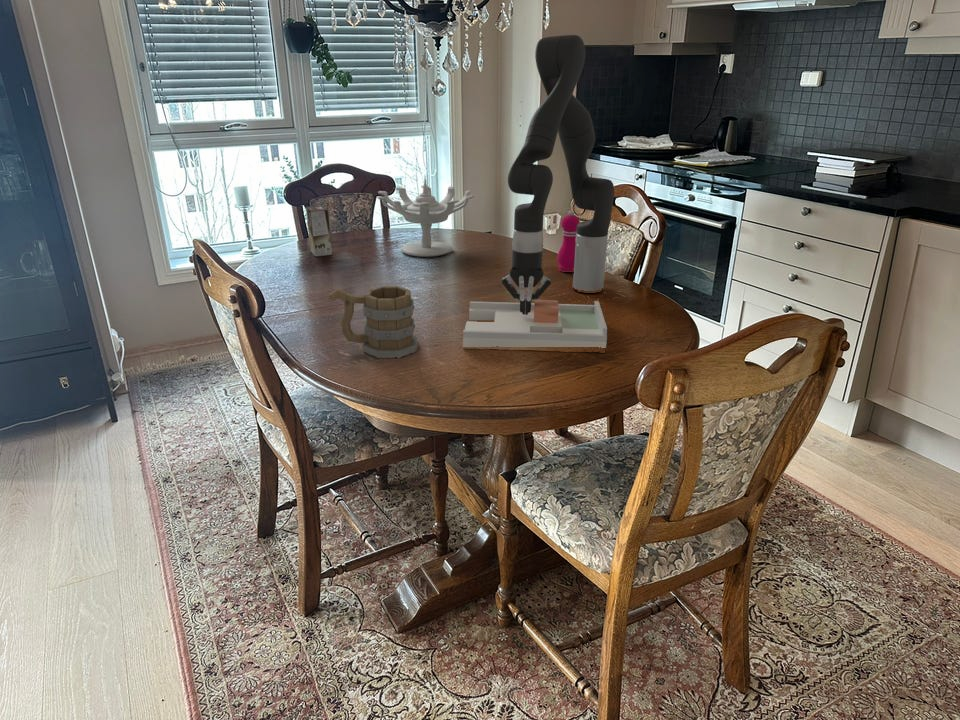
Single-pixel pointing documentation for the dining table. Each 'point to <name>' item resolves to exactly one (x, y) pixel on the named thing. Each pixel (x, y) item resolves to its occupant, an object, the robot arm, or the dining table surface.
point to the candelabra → (426, 217)
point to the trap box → (534, 326)
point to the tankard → (381, 321)
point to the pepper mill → (568, 242)
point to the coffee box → (319, 230)
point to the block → (546, 311)
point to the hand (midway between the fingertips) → (525, 313)
